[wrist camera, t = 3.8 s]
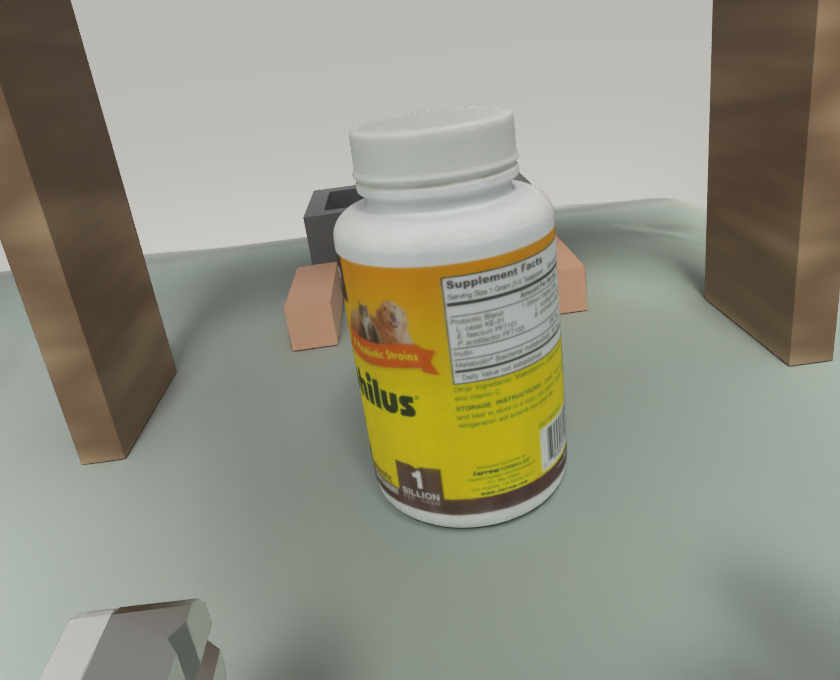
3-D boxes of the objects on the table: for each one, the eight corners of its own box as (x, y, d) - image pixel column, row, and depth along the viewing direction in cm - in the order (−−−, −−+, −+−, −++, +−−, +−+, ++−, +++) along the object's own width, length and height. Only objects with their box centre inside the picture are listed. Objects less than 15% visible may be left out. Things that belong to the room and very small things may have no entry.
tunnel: (81, 464, 25) (-160, -203, 18) (142, 376, 31) (-17, -139, 24) (832, 359, 25) (907, -349, 18) (738, 293, 31) (764, -246, 24)
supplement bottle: (357, 458, 23) (296, 127, 19) (517, 413, 24) (491, 95, 20) (410, 565, 18) (342, 149, 14) (607, 502, 20) (594, 105, 16)
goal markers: (292, 350, 32) (283, 308, 31) (304, 304, 37) (297, 267, 37) (586, 309, 32) (584, 266, 31) (555, 269, 37) (553, 231, 37)
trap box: (317, 290, 39) (303, 217, 38) (325, 254, 46) (313, 190, 44) (538, 259, 39) (533, 185, 38) (515, 227, 46) (510, 163, 44)
